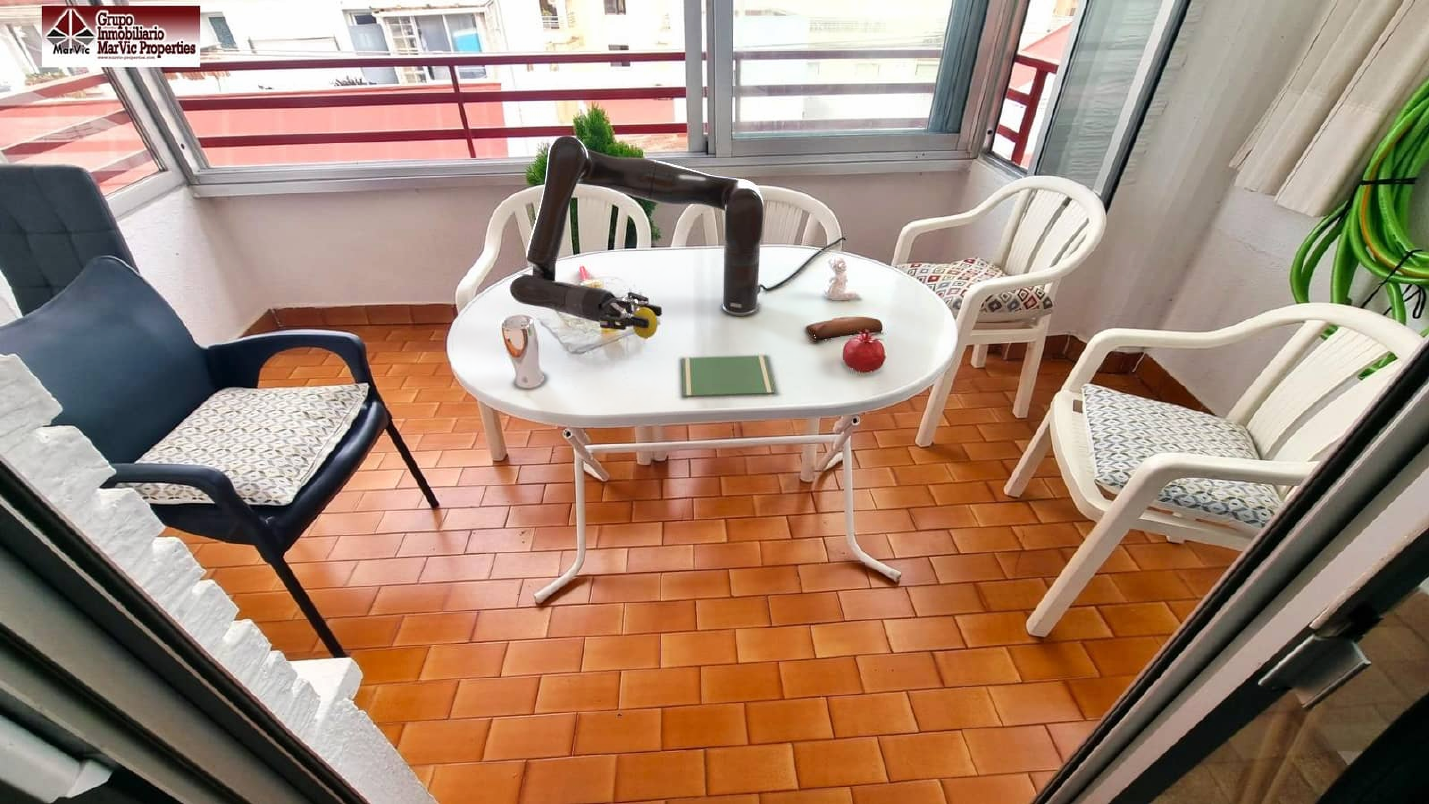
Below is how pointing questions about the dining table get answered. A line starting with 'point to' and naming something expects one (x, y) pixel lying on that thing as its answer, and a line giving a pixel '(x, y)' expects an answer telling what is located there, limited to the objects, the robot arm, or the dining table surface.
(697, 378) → the cloth
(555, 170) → the robot arm
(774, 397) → the dining table surface
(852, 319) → the sunglasses case
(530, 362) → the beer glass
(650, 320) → the lemon
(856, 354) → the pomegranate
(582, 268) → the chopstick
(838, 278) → the white creature statuette
